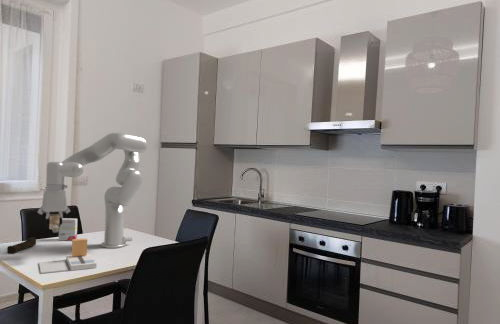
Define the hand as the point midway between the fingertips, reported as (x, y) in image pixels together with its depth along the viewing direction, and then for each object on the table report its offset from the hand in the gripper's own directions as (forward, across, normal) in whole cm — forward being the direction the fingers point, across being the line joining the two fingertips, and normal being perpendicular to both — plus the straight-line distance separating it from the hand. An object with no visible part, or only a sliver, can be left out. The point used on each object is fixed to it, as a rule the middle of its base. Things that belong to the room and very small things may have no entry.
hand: (53, 226), depth 179 cm
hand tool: (+14, +12, -18) cm, 26 cm away
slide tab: (+12, -10, +13) cm, 20 cm away
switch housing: (+14, -10, +19) cm, 26 cm away
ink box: (+14, -10, -32) cm, 36 cm away
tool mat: (+14, +1, +20) cm, 24 cm away
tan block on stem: (+1, 0, +4) cm, 4 cm away
